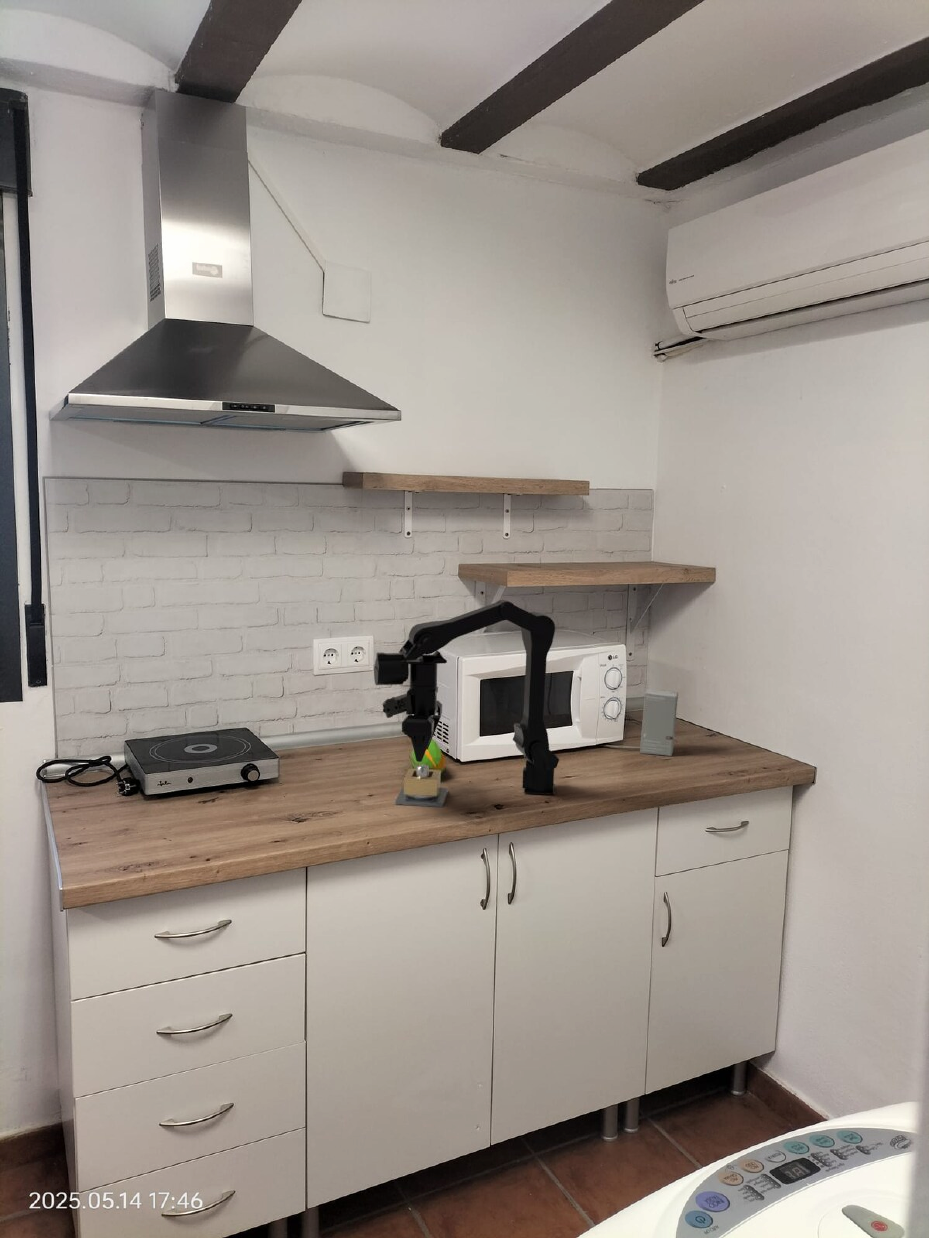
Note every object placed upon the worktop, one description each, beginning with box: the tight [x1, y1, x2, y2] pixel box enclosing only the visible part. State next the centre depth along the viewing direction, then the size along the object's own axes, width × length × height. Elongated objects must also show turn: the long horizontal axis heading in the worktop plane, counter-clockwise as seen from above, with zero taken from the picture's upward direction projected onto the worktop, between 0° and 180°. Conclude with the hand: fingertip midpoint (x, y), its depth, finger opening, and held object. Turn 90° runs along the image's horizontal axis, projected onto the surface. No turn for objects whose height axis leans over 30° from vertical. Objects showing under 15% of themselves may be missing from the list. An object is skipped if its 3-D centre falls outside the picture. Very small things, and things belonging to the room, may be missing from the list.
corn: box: [408, 738, 447, 774], centre depth 216 cm, size 7×8×20 cm
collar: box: [403, 768, 442, 796], centre depth 196 cm, size 7×7×4 cm
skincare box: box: [639, 688, 679, 757], centre depth 234 cm, size 8×7×16 cm
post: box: [394, 764, 449, 808], centre depth 196 cm, size 10×10×7 cm
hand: (422, 755), depth 195 cm, fingers open, 9 cm apart
